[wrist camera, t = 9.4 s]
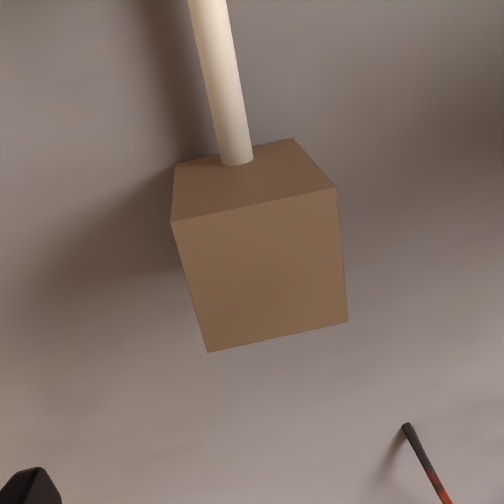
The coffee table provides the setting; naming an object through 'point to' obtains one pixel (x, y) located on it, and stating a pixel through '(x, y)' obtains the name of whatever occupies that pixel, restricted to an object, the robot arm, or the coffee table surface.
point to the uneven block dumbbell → (253, 217)
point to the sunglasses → (425, 463)
